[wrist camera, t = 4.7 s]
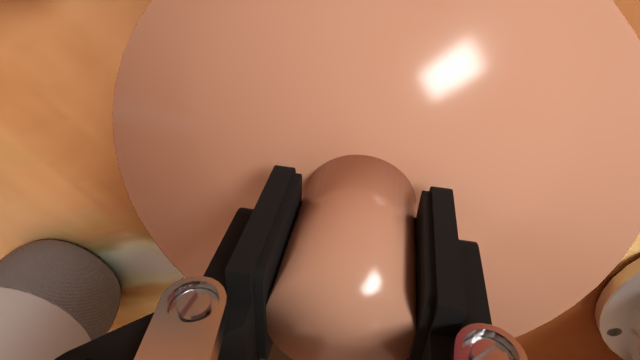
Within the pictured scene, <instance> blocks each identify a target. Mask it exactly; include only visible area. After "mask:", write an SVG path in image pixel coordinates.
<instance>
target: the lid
mask: <svg viewBox="0 0 640 360" xmlns="http://www.w3.org/2000/svg"><path fill="white" fill-rule="evenodd" d="M113 131H114V144H115V149H116V154H117V159H118V165H119V169H120V172H121V175H122V178H123V181H124V184H125V187H126V190H127V193H128V196H129V198H130V200H131V202H132V204H133V206H134V208H135V210H136V212H137V214H138V216H139V218H140V220H141V221H142V223H143V225H144V226H145V228H146V229H147V231H148V233H149V234H150V236H151V237H152V239H153V240H154V242H155V243H156V244H157V245H158V247H159V248H160V249H161V250H162V252H163V253H164V254H165V255H166V257H167V258H168V259H169V260H170V261H171V262H172V264H173V265H174V266H175V267H176V268H177V269H178V270H179V271H180V272H181V273H182V274H183V275H184V276H185V277H186V278H188V277H192V276H203V275H204V273H205V271H206V270H207V268H208V266H209V264H210V262H211V260H212V258H213V256H214V254H215V252H216V250H217V248H218V246H219V245H220V243H221V241H222V239H223V237H224V235H225V233H226V231H227V229H228V227H229V225H230V223H231V222H232V220H233V218H234V216H235V214H236V212H237V211H238V209H239V208H241V207H242V208H249V209H254V208H255V205H256V203H257V201H258V199H259V197H260V195H261V193H262V191H263V189H264V186H265V184H266V182H267V180H268V178H269V176H270V174H271V172H272V170H273V167H274V166H275V165H279V166H286V167H293V168H295V170H296V173H299V174H302V202H301V205H300V208H299V211H298V214H297V217H296V219H295V222H294V225H293V228H292V231H291V234H290V237H289V240H288V243H287V246H286V249H285V252H284V255H283V258H282V261H281V264H280V266H279V269H278V272H277V275H276V278H275V281H274V284H273V287H272V290H271V293H270V296H269V299H268V302H267V305H266V321H267V333H268V335H269V336H270V338H271V339H272V341H273V342H274V344H275V345H276V346H277V347H278V348H279V349H280V350H281V351H282V352H284V353H285V354H286V355H287V356H289V357H290V358H292V359H293V360H407V359H408V358H409V356H410V353H411V349H412V345H413V342H414V338H415V334H416V215H417V210H418V206H419V201H420V196H421V192H422V190H424V191H429V190H430V187H431V186H434V187H442V188H449V189H452V190H453V195H454V204H455V212H456V221H457V229H458V238H459V240H466V241H473V242H477V244H478V246H479V251H480V256H481V262H482V268H483V274H484V280H485V286H486V292H487V298H488V304H489V310H490V315H491V321H492V325H493V326H496V327H499V328H501V329H503V330H504V331H506V332H508V333H509V334H511V335H512V336H513V337H514V338H515V337H517V336H520V335H523V334H525V333H527V332H529V331H531V330H533V329H535V328H537V327H539V326H541V325H543V324H545V323H547V322H549V321H551V320H552V319H554V318H555V317H557V316H559V315H560V314H562V313H563V312H565V311H566V310H568V309H569V308H571V307H572V306H574V305H575V304H577V303H578V302H579V301H580V300H581V299H583V298H584V297H585V296H586V295H587V294H589V293H590V292H591V291H592V290H594V289H595V288H596V287H597V286H598V285H599V284H600V283H601V282H602V281H603V280H604V279H605V278H606V277H607V275H608V274H609V273H610V272H611V271H612V270H613V269H614V268H615V267H616V266H617V265H618V264H619V262H620V261H621V259H622V258H623V257H624V255H625V254H626V252H627V251H628V249H629V248H630V247H631V245H632V244H633V242H634V241H635V240H636V238H637V236H638V234H639V232H640V41H639V39H638V37H637V35H636V33H635V32H634V30H633V29H632V27H631V26H630V25H629V23H628V22H627V20H626V19H625V17H624V16H623V15H622V13H621V12H620V10H619V9H618V7H617V6H616V4H615V3H614V2H613V0H152V1H151V3H150V4H149V6H148V7H147V9H146V10H145V12H144V13H143V15H142V16H141V18H140V19H139V21H138V22H137V24H136V26H135V28H134V31H133V33H132V35H131V38H130V40H129V42H128V44H127V47H126V49H125V51H124V53H123V57H122V61H121V65H120V68H119V72H118V76H117V80H116V84H115V94H114V104H113Z"/></svg>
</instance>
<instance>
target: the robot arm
mask: <svg viewBox="0 0 640 360" xmlns="http://www.w3.org/2000/svg"><path fill="white" fill-rule="evenodd" d="M301 202H302V174H299V173H296V170H295V168H293V167H286V166H279V165H275V166H274V167H273V170H272V172H271V174H270V176H269V178H268V180H267V182H266V184H265V186H264V189H263V191H262V193H261V195H260V197H259V199H258V201H257V203H256V205H255V208H254V209H249V208H242V207H241V208H239V209H238V211H237V212H236V214H235V216H234V218H233V220H232V222H231V223H230V225H229V227H228V229H227V231H226V233H225V235H224V237H223V239H222V241H221V243H220V245H219V246H218V248H217V250H216V252H215V254H214V256H213V258H212V260H211V262H210V264H209V266H208V268H207V270H206V271H205V273H204V275H203V276H192V277H188V278H185V279H182V280H180V281H178V282H176V283H174V284H173V285H171V286H170V287H169V288H168V289H167V290H166V291H165V292H164V294H163V295H162V297H161V299H160V301H159V303H158V305H157V308H156V310H155V312H154V313H152V314H149V315H147V316H145V317H143V318H141V319H138V320H136V321H134V322H132V323H129V324H127V325H125V326H123V327H121V328H118V329H116V330H114V331H112V332H109V333H107V334H105V335H103V336H100V337H98V338H96V339H94V340H92V341H89V342H87V343H85V344H83V345H80V346H78V347H76V348H74V349H72V350H69V351H67V352H65V353H64V354H62V355H60V356H58V357H57V358H55V359H54V360H260V359H266V360H267V359H268V357H269V355H270V351H271V348H272V345H273V341H272V339H271V338H270V336H269V335H268V333H267V321H266V305H267V302H268V299H269V296H270V293H271V290H272V287H273V284H274V281H275V278H276V275H277V272H278V269H279V266H280V264H281V261H282V258H283V255H284V252H285V249H286V246H287V243H288V240H289V237H290V234H291V231H292V228H293V225H294V222H295V219H296V217H297V214H298V211H299V208H300V205H301ZM595 318H596V323H597V327H598V329H599V331H600V333H601V336H602V338H603V341H604V342H605V343H606V344H607V346H608V347H609V348H610V350H611V351H613V352H614V353H615V354H617V355H618V356H619V357H621V358H622V359H624V360H640V258H638V259H637V260H635V261H633V262H632V263H630V264H629V265H627V266H626V267H625V268H624V269H622V270H621V271H620V272H619V273H618V274H617V275H615V276H614V277H613V278H612V279H611V280H610V282H609V283H608V284H607V285H606V287H605V288H604V289H603V290H602V292H601V295H600V297H599V299H598V301H597V304H596V310H595ZM407 360H528V359H527V356H526V353H525V351H524V349H523V348H522V346H521V344H520V343H519V342H518V341H517V340H516V339H515V338H514V337H513V336H512V335H511V334H509V333H508V332H506V331H504V330H503V329H501V328H499V327H496V326H493V325H492V321H491V315H490V310H489V304H488V298H487V292H486V286H485V280H484V274H483V268H482V262H481V256H480V251H479V246H478V244H477V242H473V241H466V240H459V238H458V229H457V221H456V212H455V204H454V195H453V190H452V189H449V188H442V187H434V186H431V187H430V190H429V191H424V190H422V192H421V196H420V201H419V206H418V210H417V215H416V334H415V338H414V342H413V345H412V349H411V353H410V356H409V358H408V359H407Z"/></svg>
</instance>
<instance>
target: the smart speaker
mask: <svg viewBox="0 0 640 360" xmlns="http://www.w3.org/2000/svg"><path fill="white" fill-rule="evenodd" d="M120 298H121V291H120V285H119V282H118V279H117V278H116V276H115V274H114V272H113V271H112V270H111V268H110V267H109V266H108V265H107V264H106V263H105V262H104V261H103V260H102V259H101V258H100V257H98V256H97V255H95V254H94V253H92V252H91V251H89V250H87V249H85V248H83V247H81V246H79V245H76V244H73V243H70V242H66V241H61V240H50V239H47V240H38V241H34V242H31V243H28V244H25V245H23V246H21V247H19V248H17V249H15V250H14V251H12V252H10V253H9V254H8V255H6V256H5V257H3V258H2V259H1V260H0V360H54V359H55V358H57V357H58V356H60V355H62V354H64V353H65V352H67V351H69V350H72V349H74V348H76V347H78V346H80V345H83V344H85V343H87V342H89V341H92V340H94V339H96V338H98V337H100V336H103V335H105V334H107V333H108V331H109V329H110V328H111V326H112V324H113V322H114V320H115V317H116V315H117V312H118V309H119V305H120Z"/></svg>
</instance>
